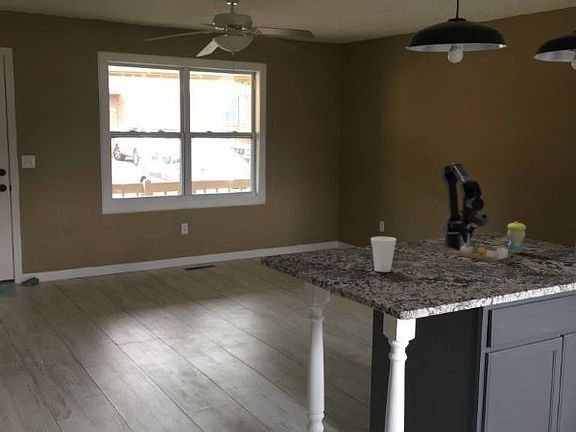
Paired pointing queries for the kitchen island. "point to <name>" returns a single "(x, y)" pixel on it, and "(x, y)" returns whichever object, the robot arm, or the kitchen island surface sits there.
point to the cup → (383, 252)
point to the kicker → (467, 246)
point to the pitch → (474, 254)
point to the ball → (481, 251)
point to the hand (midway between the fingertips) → (466, 242)
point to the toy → (516, 237)
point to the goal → (498, 253)
